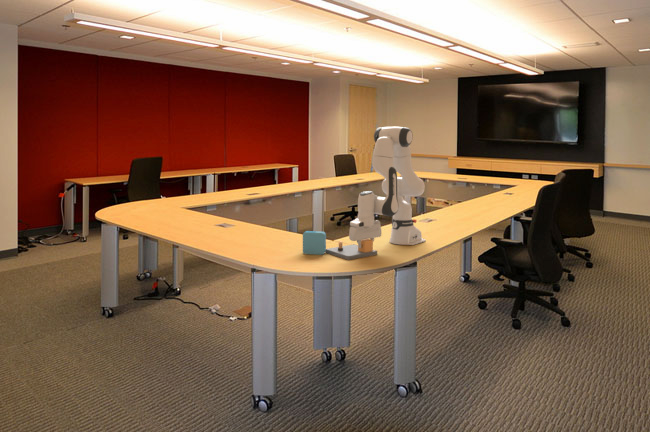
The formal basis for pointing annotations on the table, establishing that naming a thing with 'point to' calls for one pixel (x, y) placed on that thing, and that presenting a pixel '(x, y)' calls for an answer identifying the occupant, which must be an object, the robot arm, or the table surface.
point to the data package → (314, 242)
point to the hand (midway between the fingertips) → (365, 246)
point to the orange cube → (366, 245)
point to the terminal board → (349, 252)
